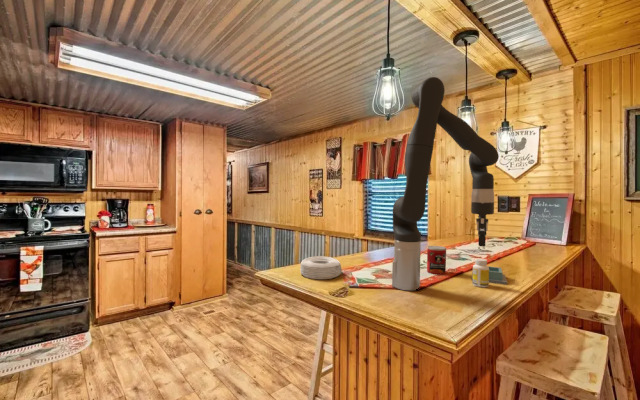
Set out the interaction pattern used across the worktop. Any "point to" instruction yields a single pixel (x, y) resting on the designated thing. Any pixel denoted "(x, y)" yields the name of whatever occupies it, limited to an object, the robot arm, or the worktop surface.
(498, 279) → the grey-teal square frame
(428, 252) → the canned food
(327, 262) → the cable
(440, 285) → the worktop surface
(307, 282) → the worktop surface
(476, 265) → the supplement bottle
